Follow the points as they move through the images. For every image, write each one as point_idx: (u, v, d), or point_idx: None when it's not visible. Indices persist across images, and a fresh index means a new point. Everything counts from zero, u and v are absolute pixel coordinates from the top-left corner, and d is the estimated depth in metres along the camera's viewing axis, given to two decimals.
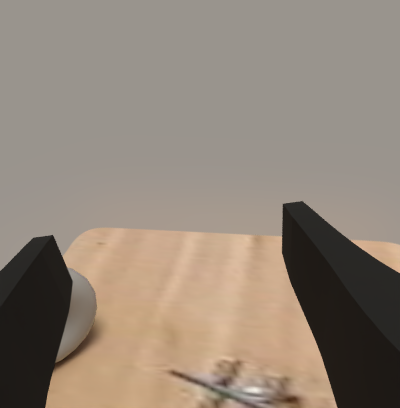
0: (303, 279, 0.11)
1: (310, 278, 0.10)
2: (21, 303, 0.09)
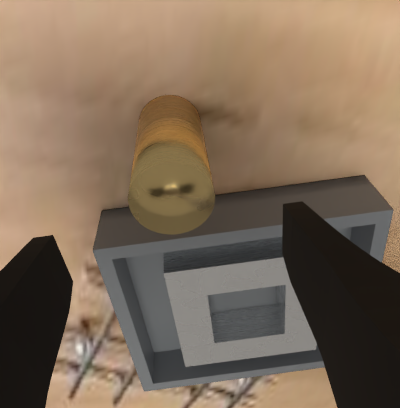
0: (303, 279, 0.11)
1: (310, 278, 0.10)
2: (21, 303, 0.09)
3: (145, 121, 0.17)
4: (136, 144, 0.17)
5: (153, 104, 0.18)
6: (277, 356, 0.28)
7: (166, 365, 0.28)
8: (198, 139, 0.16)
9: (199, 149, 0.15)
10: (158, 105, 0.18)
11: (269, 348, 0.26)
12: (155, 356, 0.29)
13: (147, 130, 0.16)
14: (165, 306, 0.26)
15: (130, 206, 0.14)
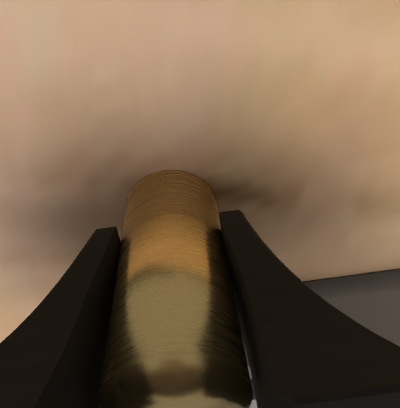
0: (234, 288, 0.11)
1: (236, 288, 0.10)
2: (99, 293, 0.09)
3: (134, 222, 0.11)
4: (118, 267, 0.10)
5: (146, 188, 0.12)
6: None
7: None
8: (218, 265, 0.10)
9: (222, 293, 0.09)
10: (154, 192, 0.12)
11: None
12: None
13: (136, 247, 0.10)
14: None
15: None
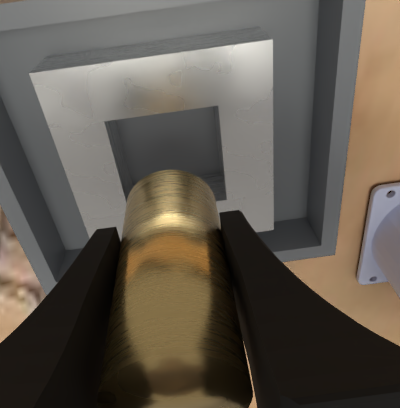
0: (234, 288, 0.11)
1: (237, 288, 0.10)
2: (99, 292, 0.09)
3: (133, 221, 0.11)
4: (118, 266, 0.10)
5: (145, 187, 0.12)
6: None
7: None
8: (218, 263, 0.10)
9: (221, 291, 0.09)
10: (153, 192, 0.12)
11: None
12: (66, 254, 0.22)
13: (135, 246, 0.10)
14: None
15: None
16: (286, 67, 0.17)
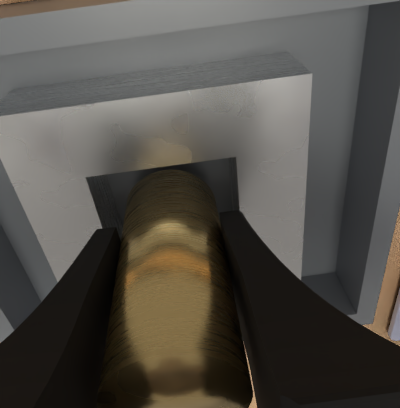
0: (234, 288, 0.11)
1: (237, 288, 0.10)
2: (99, 292, 0.09)
3: (133, 222, 0.11)
4: (118, 266, 0.10)
5: (145, 188, 0.12)
6: None
7: None
8: (218, 263, 0.10)
9: (221, 291, 0.09)
10: (153, 192, 0.12)
11: None
12: None
13: (135, 246, 0.10)
14: None
15: None
16: (320, 101, 0.13)
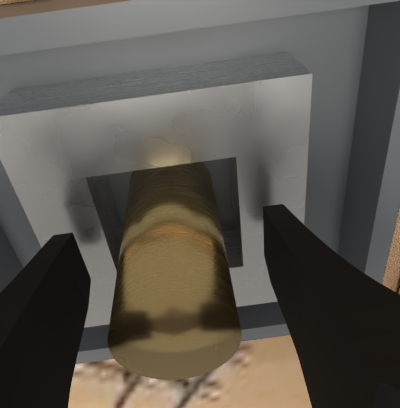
0: (281, 282, 0.11)
1: (287, 281, 0.10)
2: (45, 300, 0.09)
3: (136, 194, 0.12)
4: (123, 232, 0.12)
5: None
6: None
7: None
8: (212, 228, 0.11)
9: (215, 250, 0.10)
10: (155, 168, 0.13)
11: None
12: None
13: (139, 214, 0.11)
14: None
15: (111, 351, 0.09)
16: (320, 101, 0.13)
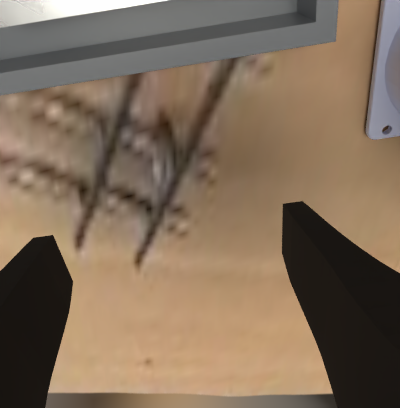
0: (303, 279, 0.11)
1: (310, 278, 0.10)
2: (21, 303, 0.09)
3: None
4: None
5: None
6: (182, 38, 0.15)
7: None
8: None
9: None
10: None
11: None
12: None
13: None
14: None
15: None
16: None
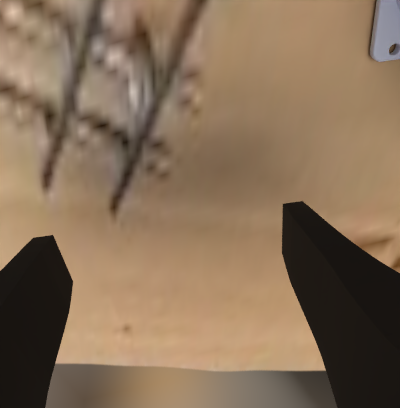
0: (303, 279, 0.11)
1: (310, 278, 0.10)
2: (21, 303, 0.09)
3: None
4: None
5: None
6: None
7: None
8: None
9: None
10: None
11: None
12: None
13: None
14: None
15: None
16: None
